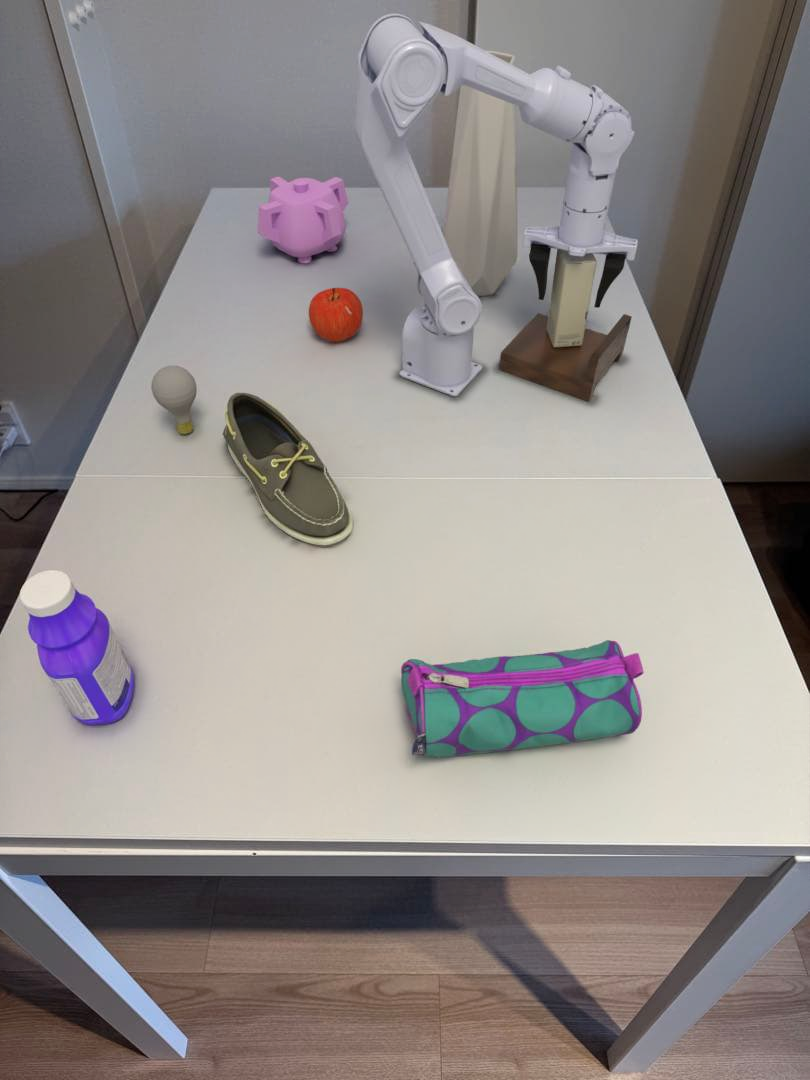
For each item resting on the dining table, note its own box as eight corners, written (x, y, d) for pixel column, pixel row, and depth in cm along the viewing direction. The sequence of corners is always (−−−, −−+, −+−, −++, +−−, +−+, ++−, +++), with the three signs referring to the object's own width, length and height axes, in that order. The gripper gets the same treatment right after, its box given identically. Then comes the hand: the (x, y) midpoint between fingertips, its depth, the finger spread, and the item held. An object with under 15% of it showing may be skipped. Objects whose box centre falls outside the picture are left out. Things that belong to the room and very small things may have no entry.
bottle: (85, 668, 78) (19, 557, 65) (141, 663, 78) (87, 553, 65) (70, 733, 73) (-4, 628, 60) (130, 728, 74) (70, 622, 61)
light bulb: (215, 425, 103) (200, 363, 96) (191, 450, 100) (173, 387, 92) (182, 414, 105) (164, 352, 97) (157, 438, 101) (137, 376, 94)
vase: (525, 278, 128) (553, 53, 103) (492, 311, 121) (513, 78, 97) (462, 259, 132) (473, 38, 107) (426, 289, 126) (430, 62, 101)
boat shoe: (366, 538, 90) (363, 493, 84) (290, 567, 87) (281, 523, 81) (288, 418, 104) (281, 373, 98) (220, 440, 101) (209, 395, 96)
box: (582, 347, 109) (599, 262, 100) (552, 349, 109) (565, 264, 100) (573, 326, 113) (589, 243, 103) (544, 328, 113) (556, 244, 103)
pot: (317, 214, 143) (311, 149, 134) (378, 248, 135) (376, 180, 126) (236, 247, 135) (224, 180, 126) (296, 285, 127) (288, 216, 118)
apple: (374, 337, 117) (372, 289, 111) (330, 356, 113) (325, 308, 107) (344, 314, 121) (341, 267, 115) (301, 332, 118) (295, 284, 112)
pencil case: (412, 779, 70) (412, 729, 63) (400, 694, 76) (399, 639, 69) (633, 752, 72) (658, 700, 64) (605, 671, 77) (625, 615, 70)
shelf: (498, 370, 111) (503, 327, 106) (535, 329, 118) (540, 288, 112) (589, 402, 106) (598, 359, 101) (621, 358, 113) (631, 316, 107)
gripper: (523, 210, 95) (513, 308, 105) (643, 224, 93) (620, 322, 103) (532, 186, 100) (521, 281, 110) (646, 198, 97) (624, 295, 107)
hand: (569, 299), depth 107 cm, fingers open, 7 cm apart
